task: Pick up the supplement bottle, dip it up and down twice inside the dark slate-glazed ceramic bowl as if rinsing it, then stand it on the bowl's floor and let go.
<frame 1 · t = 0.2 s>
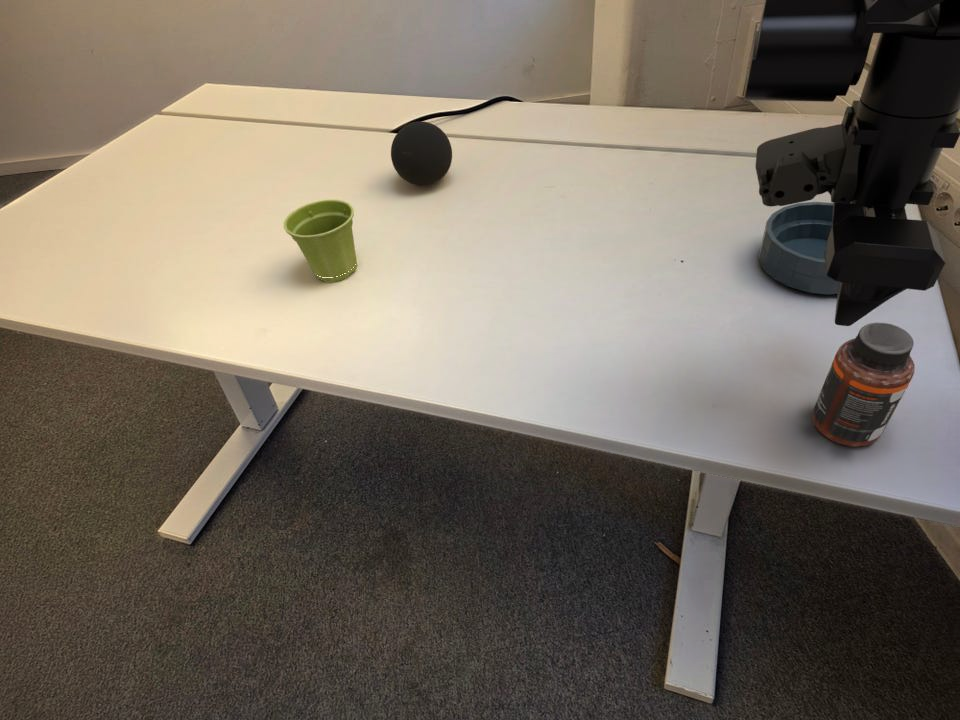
hand: (839, 288, 51), 14 cm above the table, tool pointing down, fingers open, 9 cm apart
supplement bottle: (844, 426, 58), on the table
speaker: (427, 183, 103), on the table
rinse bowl: (815, 265, 75), on the table
plant pot: (336, 271, 87), on the table
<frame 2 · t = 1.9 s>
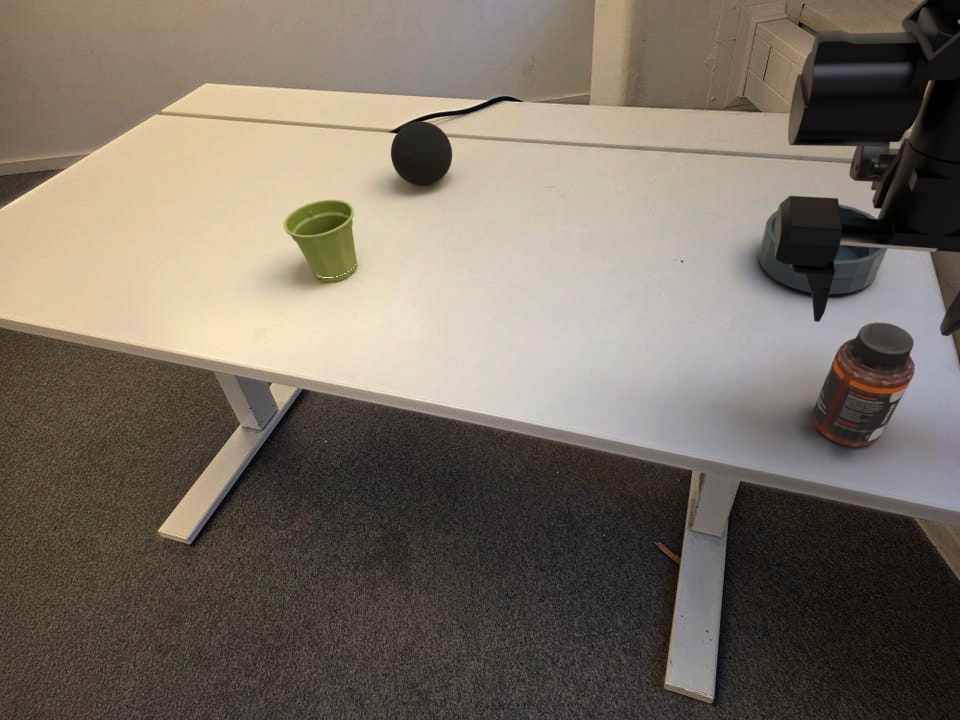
hand: (878, 325, 50), 12 cm above the table, tool pointing down, fingers open, 9 cm apart
nothing on the table moved.
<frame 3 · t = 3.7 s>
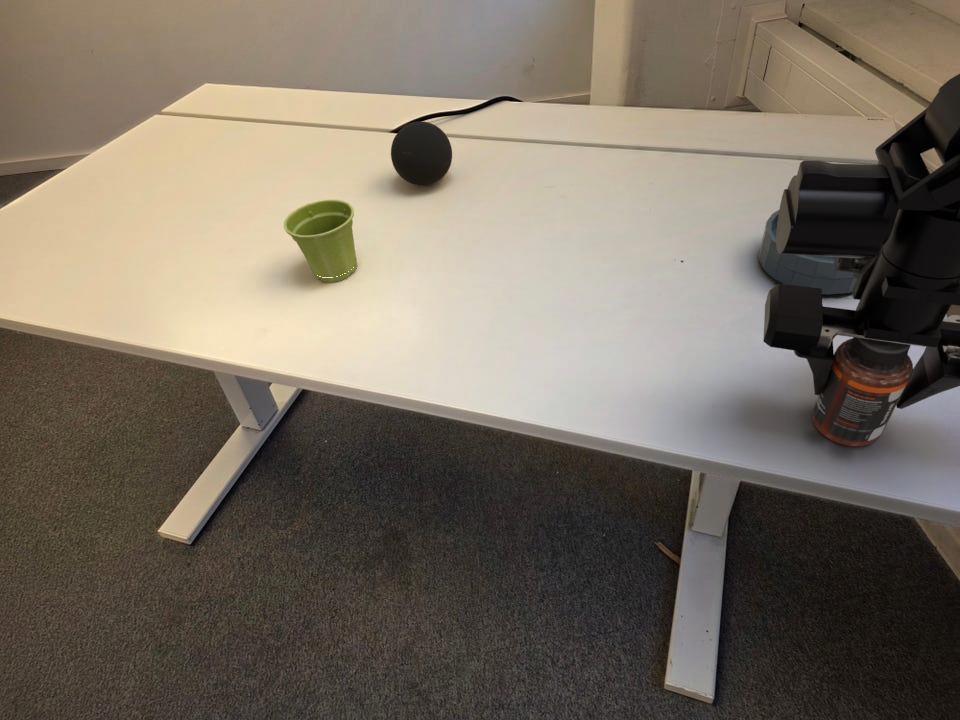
hand: (857, 398, 55), 4 cm above the table, tool pointing down, fingers closed on supplement bottle, 6 cm apart
supplement bottle: (844, 426, 58), on the table, touching gripper
everything else where it was.
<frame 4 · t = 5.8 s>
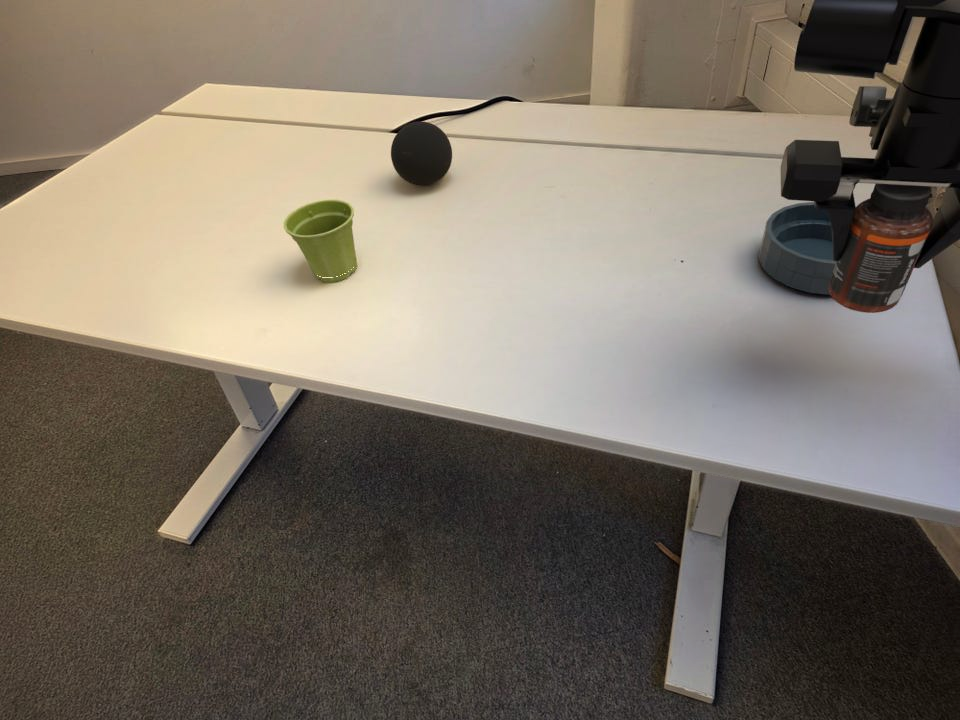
hand: (874, 262, 54), 13 cm above the table, tool pointing down, fingers closed on supplement bottle, 6 cm apart
supplement bottle: (861, 297, 57), point 9 cm above the table, touching gripper
everything else where it was.
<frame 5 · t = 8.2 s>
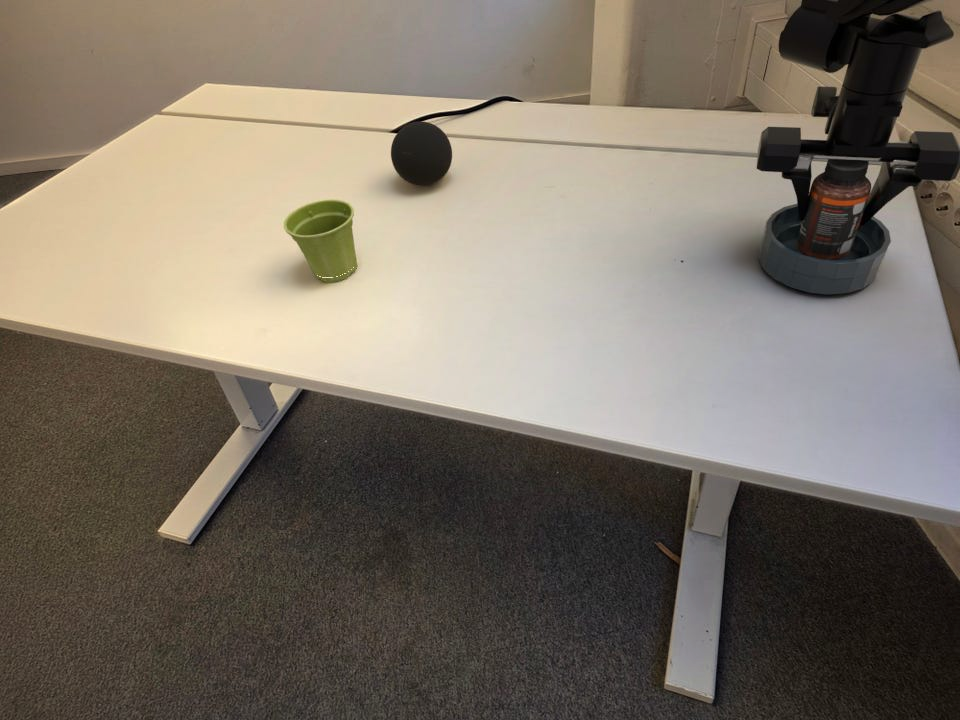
hand: (830, 221, 71), 6 cm above the table, tool pointing down, fingers closed on supplement bottle, 6 cm apart
supplement bottle: (822, 250, 74), point 2 cm above the table, touching gripper
everything else where it was.
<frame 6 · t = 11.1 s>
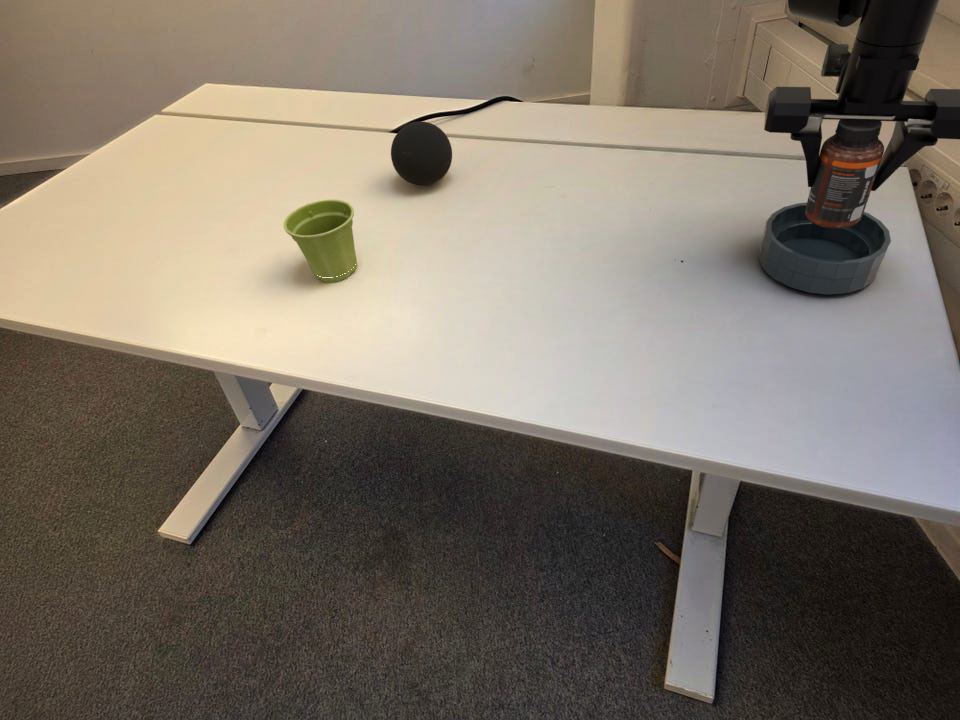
hand: (840, 187, 68), 11 cm above the table, tool pointing down, fingers closed on supplement bottle, 6 cm apart
supplement bottle: (831, 218, 71), point 7 cm above the table, touching gripper
everything else where it was.
when the fingers open (5 cm above the table, at t = 13.4 s): supplement bottle stays where it is, resting on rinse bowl.
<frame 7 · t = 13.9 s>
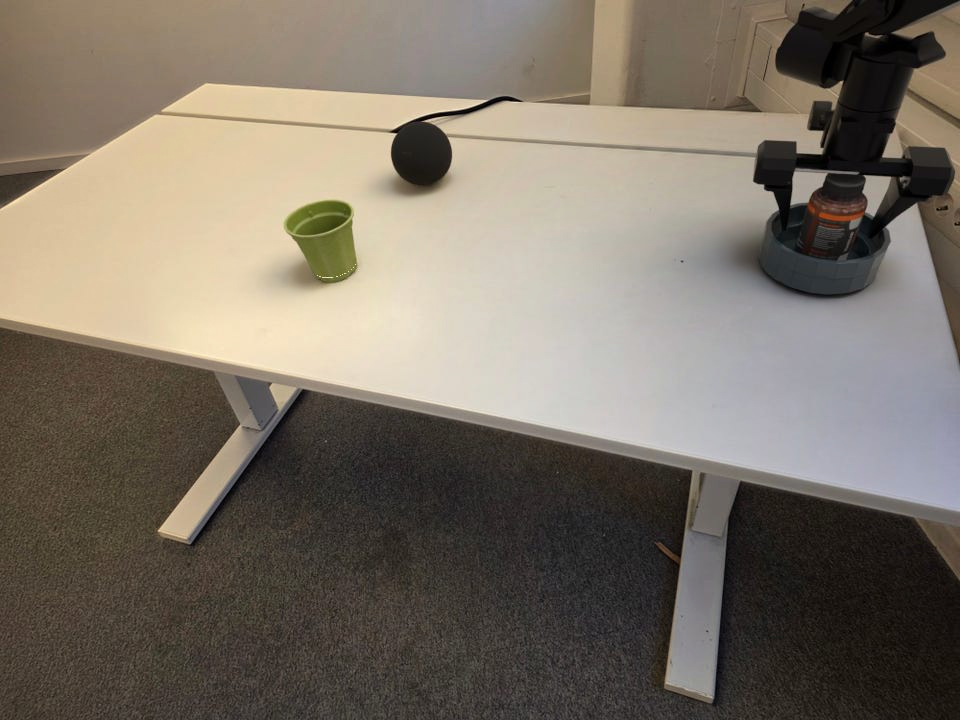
hand: (825, 233, 72), 5 cm above the table, tool pointing down, fingers open, 9 cm apart
supplement bottle: (817, 263, 75), resting on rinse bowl
everything else where it was.
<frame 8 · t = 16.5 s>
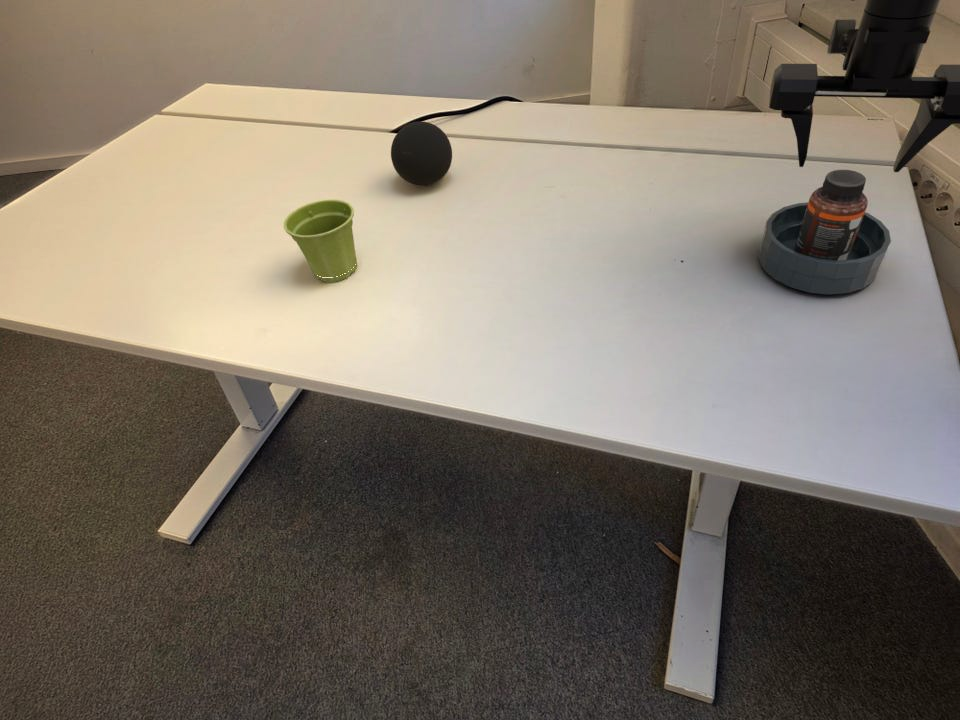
hand: (847, 167, 66), 13 cm above the table, tool pointing down, fingers open, 9 cm apart
nothing on the table moved.
at the end: supplement bottle 0.2 cm off-centre in the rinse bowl, point 0.4 cm above the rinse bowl's base; supplement bottle tilted 0°; the gripper is holding nothing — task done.
